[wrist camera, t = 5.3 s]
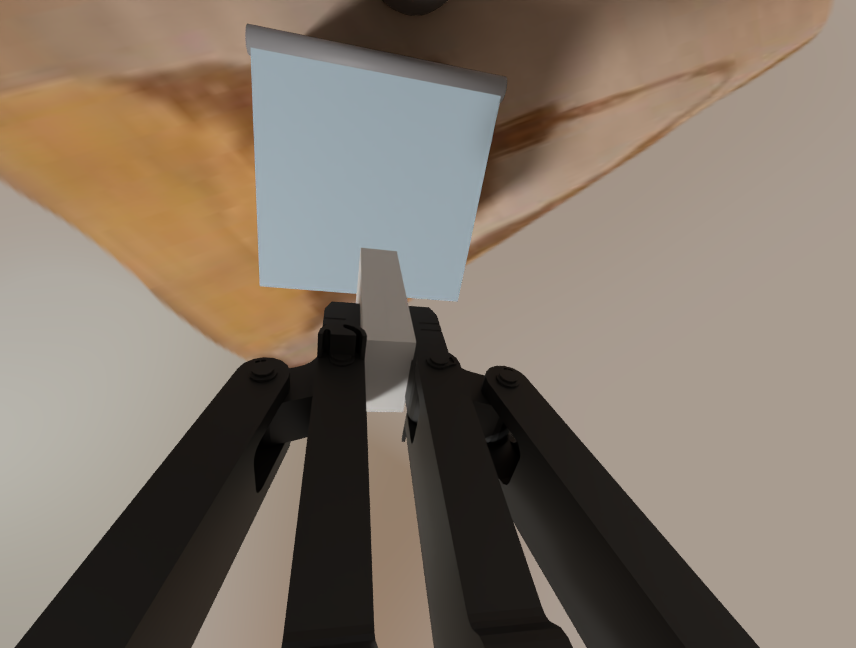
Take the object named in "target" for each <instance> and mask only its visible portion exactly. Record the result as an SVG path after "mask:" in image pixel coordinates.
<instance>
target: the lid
mask: <svg viewBox="0 0 856 648" xmlns="http://www.w3.org/2000/svg"><path fill="white" fill-rule="evenodd" d="M246 47H247V52H248V54H249V55H250V56H251V73H252V98H253V124H254V149H255V175H256V200H257V225H258V251H259V276H260V286H265V287H278V288H291V289H304V290H316V291H329V292H342V293H355V294H357V284H358V272H359V261H360V249H361V248H369V249H379V250H389V251H397V255H398V259H399V264H400V269H401V273H402V278H403V283H404V287H405V292H406V297H407V298H419V299H432V300H445V301H458V297H459V293H460V288H461V283H462V278H463V274H464V269H465V264H466V259H467V255H468V250H469V245H470V241H471V236H472V231H473V226H474V222H475V217H476V212H477V207H478V203H479V198H480V193H481V188H482V184H483V179H484V174H485V170H486V165H487V160H488V155H489V151H490V146H491V141H492V136H493V132H494V127H495V122H496V118H497V113H498V108H499V103H501V102H502V100H503V98H504V96H505V93H506V88H507V77H505V76H500V75H495V74H490V73H485V72H481V71H476V70H471V69H466V68H461V67H456V66H451V65H446V64H442V63H437V62H432V61H427V60H422V59H417V58H412V57H408V56H403V55H398V54H393V53H388V52H383V51H378V50H373V49H369V48H364V47H359V46H354V45H349V44H344V43H339V42H335V41H330V40H325V39H320V38H315V37H310V36H305V35H300V34H296V33H291V32H286V31H281V30H276V29H271V28H266V27H262V26H257V25H252V24H247V25H246Z"/></svg>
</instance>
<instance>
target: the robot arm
mask: <svg viewBox="0 0 856 648" xmlns="http://www.w3.org/2000/svg"><path fill="white" fill-rule="evenodd" d="M405 400H406V407H407V414H406V419H405V424H404V430H403V435H402V442H403V441H404V442H405V439H406V437H407V445H408V453H409V460H410V468H411V476H412V483H413V490H414V498H415V506H416V514H417V521H418V529H419V536H420V544H421V552H422V559H423V567H424V575H425V583H426V590H427V598H428V604H429V613H430V621H431V628H432V636H433V643H434V648H573V647H572V645H571V643H570V641H569V638H568V637H567V635H566V634H565V633H564V631H563V630H562V628H561V627H559V626H557V625H556V624H554V623H552V622H550V621H549V620H548V618H547V617H546V615H545V614H544V611H543V609H542V606H541V603H540V600H539V597H538V594H537V591H536V588H535V585H534V582H533V579H532V577H531V573H530V571H529V567H528V564H527V562H526V558H525V556H524V553H523V550H522V547H521V544H520V541H519V538H518V535H517V532H516V529H515V526H514V523H515V525H516V527H517V529H518V531H519V532H520V534H521V536H522V538H523V539H524V541H525V543H526V544H527V546H528V548H529V549H530V551H531V553H532V555H533V556H534V558H535V560H536V562H537V563H538V565H539V567H540V568H541V570H542V572H543V574H544V575H545V577H546V578H547V580H548V582H549V584H550V585H551V587H552V589H553V591H554V592H555V594H556V596H557V597H558V599H559V601H560V602H561V604H562V606H563V607H564V609H565V611H566V613H567V615H568V616H569V618H570V619H571V621H572V623H573V625H574V627H575V628H576V630H577V632H578V633H579V635H580V637H581V638H582V640H583V642H584V644H585V645H586V647H587V648H760V647H759V646H758V645H757V644H756V643H755V642H754V640H753V639H752V638H751V637H750V636H749V635H748V634H747V632H746V631H745V630H744V629H743V628H742V627H741V625H740V624H739V623H738V622H737V621H736V620H735V619H734V617H733V616H732V615H731V614H730V613H729V612H728V610H727V609H726V608H725V607H724V606H723V605H722V603H721V602H720V601H719V600H718V599H717V598H716V597H715V596H714V594H713V593H712V592H711V591H710V590H709V588H708V587H707V586H706V585H705V584H704V583H703V582H702V581H701V579H700V578H699V577H698V576H697V575H696V573H695V572H694V571H693V570H692V569H691V568H690V567H689V566H688V564H687V563H686V562H685V561H684V560H683V558H682V557H681V556H680V555H679V554H678V553H677V551H676V550H675V549H674V548H673V547H672V546H671V545H670V544H669V542H668V541H667V540H666V539H665V538H664V536H663V535H662V534H661V533H660V532H659V531H658V530H657V528H656V527H655V526H654V525H653V524H652V523H651V521H650V520H649V519H648V518H647V517H646V516H645V514H644V513H643V512H642V511H641V510H640V509H639V507H638V506H637V505H636V504H635V503H634V502H633V501H632V499H631V498H630V497H629V496H628V495H627V494H626V492H625V491H624V490H623V489H622V488H621V487H620V486H619V484H618V483H617V482H616V481H615V480H614V479H613V478H612V476H611V475H610V474H609V473H608V472H607V470H606V469H605V468H604V467H603V466H602V465H601V464H600V462H599V461H598V460H597V459H596V458H595V457H594V456H593V454H592V453H591V452H590V451H589V450H588V449H587V447H586V446H585V445H584V444H583V443H582V442H581V440H580V439H579V438H578V437H577V436H576V435H575V433H574V432H573V431H572V430H571V429H570V428H569V426H568V425H567V424H566V423H565V422H564V421H563V420H562V418H561V417H560V416H559V415H558V414H557V413H556V412H555V410H554V409H553V408H552V407H551V406H550V405H549V403H548V402H547V401H546V400H545V399H544V398H543V396H542V395H541V394H540V393H539V392H538V391H537V389H536V388H535V387H534V386H533V385H532V384H531V383H530V381H529V380H528V379H527V378H526V377H525V376H524V375H523V374H522V373H520V372H519V371H517V370H515V369H513V368H510V367H506V366H494V367H491V368H489V369H488V371H486V374H485V375H480V374H477V373H473V372H470V371H466V370H464V369H462V368H461V366H460V363H459V361H458V360H457V358H456V357H454V356H453V355H452V354H450V353H448V349H447V346H446V343H445V340H444V337H443V334H442V332H441V327H440V325H439V321H438V318H437V315H436V314H435V313H434V312H433V311H432V310H431V309H430V308H429V307H415V306H408V301H407V297H406V292H405V287H404V283H403V278H402V273H401V269H400V264H399V259H398V255H397V251H389V250H379V249H369V248H361V249H360V261H359V272H358V284H357V296H356V303H345V302H331V303H330V304H329V305H328V306H327V307H326V308H325V311H324V319H323V327H322V328H321V329H320V331H319V333H318V352H317V357H316V358H315V359H314V360H313V361H312V362H310V363H308V364H306V365H303V366H299V367H294V368H288V365H286V364H285V363H284V362H283V361H281V360H278V359H275V358H265V357H263V358H257V359H252V360H250V361H248V362H245V363H244V364H242V365H241V366H240V367H239V368H238V369H237V370H236V371H235V373H234V374H233V375H232V376H231V378H230V379H229V380H228V382H227V383H226V384H225V385H224V386H223V388H222V389H221V390H220V391H219V393H218V394H217V395H216V396H215V398H214V399H213V400H212V401H211V403H210V404H209V405H208V406H207V408H206V409H205V410H204V411H203V413H202V414H201V415H200V416H199V418H198V419H197V420H196V422H195V423H194V424H193V425H192V426H191V428H190V429H189V430H188V431H187V433H186V434H185V435H184V436H183V438H182V439H181V440H180V441H179V443H178V444H177V445H176V446H175V448H174V449H173V450H172V451H171V453H170V454H169V455H168V456H167V458H166V459H165V460H164V461H163V463H162V464H161V465H160V466H159V468H158V469H157V470H156V471H155V473H154V474H153V475H152V476H151V478H150V479H149V480H148V481H147V483H146V484H145V485H144V486H143V488H142V489H141V490H140V491H139V493H138V494H137V495H136V497H135V498H134V499H133V500H132V501H131V503H130V504H129V505H128V506H127V508H126V509H125V510H124V511H123V513H122V514H121V515H120V517H119V518H118V519H117V520H116V521H115V523H114V524H113V525H112V526H111V528H110V529H109V530H108V531H107V533H106V534H105V535H104V536H103V538H102V539H101V540H100V541H99V543H98V544H97V545H96V546H95V548H94V549H93V550H92V551H91V553H90V554H89V555H88V556H87V558H86V559H85V560H84V561H83V563H82V564H81V565H80V566H79V568H78V569H77V570H76V571H75V573H74V574H73V575H72V576H71V578H70V579H69V580H68V582H67V583H66V584H65V585H64V586H63V588H62V589H61V590H60V591H59V593H58V594H57V595H56V597H55V598H54V599H53V600H52V601H51V603H50V604H49V605H48V607H47V608H46V609H45V610H44V612H43V613H42V614H41V615H40V616H39V618H38V619H37V620H36V622H35V623H34V624H33V625H32V627H31V628H30V629H29V630H28V631H27V633H26V634H25V635H24V636H23V638H22V639H21V640H20V642H19V643H18V644H17V645H16V647H15V648H191V647H192V645H193V643H194V641H195V639H196V637H197V635H198V633H199V631H200V628H201V627H202V625H203V622H204V620H205V618H206V616H207V614H208V612H209V610H210V608H211V606H212V604H213V602H214V600H215V598H216V596H217V594H218V591H219V590H220V588H221V586H222V584H223V582H224V579H225V577H226V575H227V573H228V571H229V569H230V567H231V565H232V563H233V561H234V559H235V557H236V555H237V553H238V551H239V549H240V547H241V545H242V542H243V541H244V539H245V536H246V534H247V532H248V530H249V528H250V526H251V524H252V522H253V520H254V518H255V516H256V514H257V512H258V510H259V508H260V505H261V504H262V502H263V500H264V497H265V496H266V493H267V491H268V489H269V487H270V485H271V483H272V481H273V479H274V477H275V475H276V473H277V471H278V469H279V467H280V465H281V463H282V461H283V459H284V457H285V454H286V452H287V450H288V448H289V446H290V442H291V441H294V440H298V439H302V438H305V437H308V438H307V447H306V454H305V463H304V472H303V479H302V487H301V496H300V504H299V511H298V521H297V528H296V536H295V545H294V552H293V560H292V569H291V577H290V585H289V593H288V602H287V610H286V618H285V626H284V634H283V642H282V648H378V646H377V644H376V641H375V634H374V611H373V583H372V554H371V527H370V498H369V469H368V444H367V443H368V440H367V412H366V411H369V412H370V411H371V412H403V411H404V406H405ZM513 522H514V523H513Z"/></svg>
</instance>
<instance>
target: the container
mask: <svg viewBox="0 0 856 648" xmlns="http://www.w3.org/2000/svg"><path fill="white" fill-rule="evenodd" d="M383 1H384V2H385V3H386V4H387V5H388V6H390V7H391V8H393V9H394V10H396V11H398V12H401V13H404V14H408V15H423V14H427V13H429V12H431V11H434V10H435V9H437V8H439V7H440V6H442V5H443V4H444V3H446V2H447V1H448V0H383Z"/></svg>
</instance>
